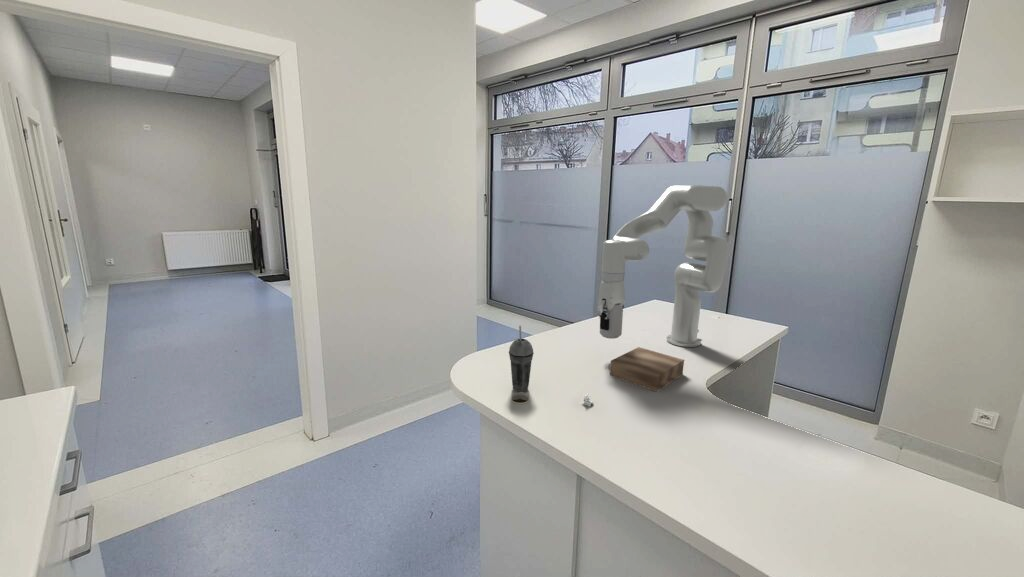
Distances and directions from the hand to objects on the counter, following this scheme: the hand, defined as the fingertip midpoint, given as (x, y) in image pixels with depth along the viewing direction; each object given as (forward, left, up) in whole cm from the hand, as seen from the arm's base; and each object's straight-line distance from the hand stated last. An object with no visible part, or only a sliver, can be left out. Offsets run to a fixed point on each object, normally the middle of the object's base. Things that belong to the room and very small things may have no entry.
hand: (610, 326), depth 146 cm
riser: (+3, +16, -12) cm, 20 cm away
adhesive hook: (+33, +15, -13) cm, 39 cm away
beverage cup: (+40, -5, -12) cm, 42 cm away
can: (0, 0, -4) cm, 4 cm away
